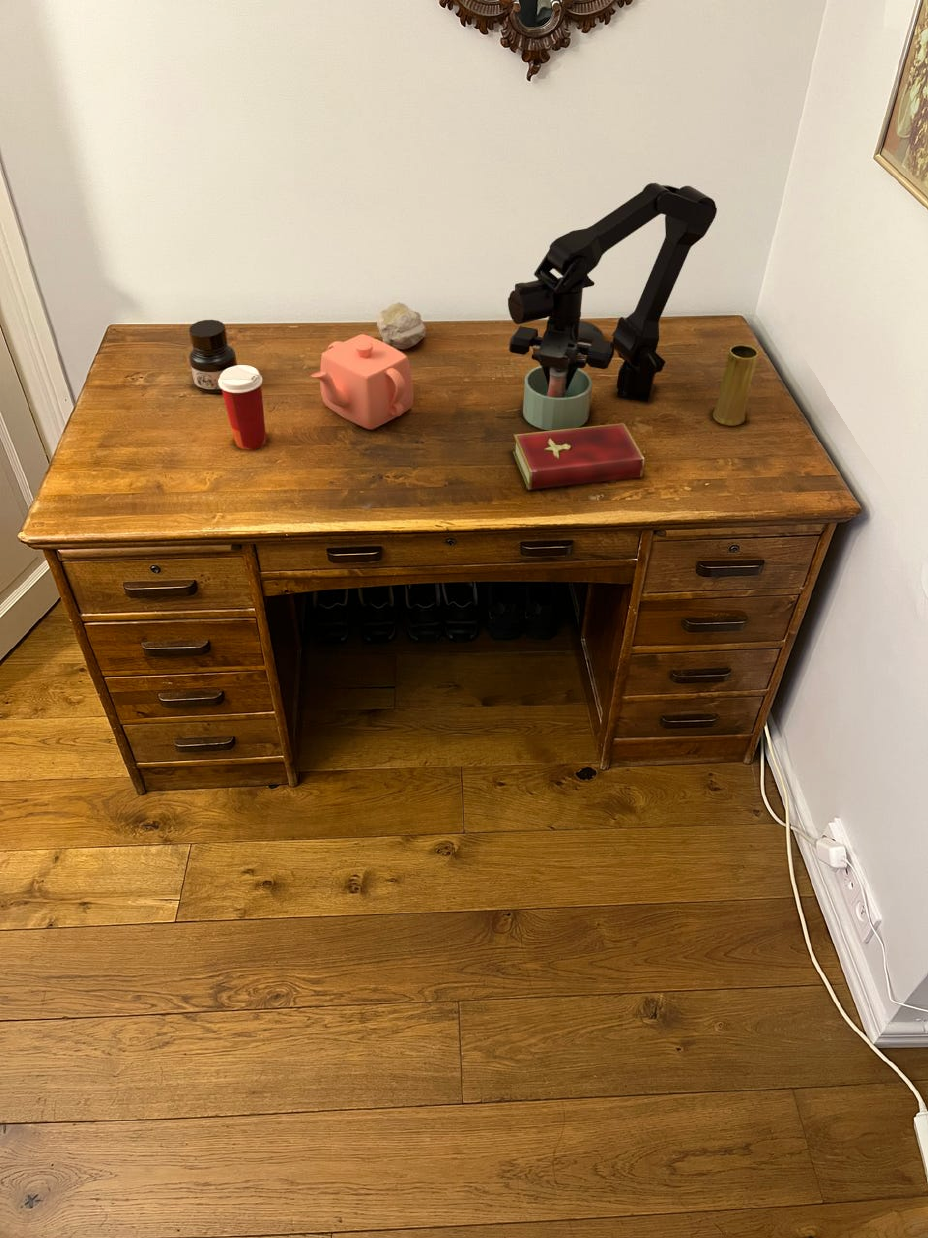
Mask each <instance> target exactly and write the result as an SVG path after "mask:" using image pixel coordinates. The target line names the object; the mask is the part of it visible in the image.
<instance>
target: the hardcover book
mask: <svg viewBox="0 0 928 1238" xmlns="http://www.w3.org/2000/svg"><path fill="white" fill-rule="evenodd" d="M513 438H514V441H515V450H513V451H512V454H513V456H514V459H515V462H516V463H517V466H518V468H519V471H520V473H521V476H522V479H523V481H524V483H525V486H526V488H527V490H528V491H532V490H540V489H548V488H549V489H550V488H557V487H566V486H575V485H584V484H591V483H602V482H609V481H619V480H627V479H634V478H636V479H637V478H642V477H643V474H644V470H645V463H646V460H645V457H644V455H643V453H642V451H641V450H640V448H639V447H638V445H637V443H636V441H635V439H634V438H633V436H632V434H631V432H630V431H629V429H628V427H627V425H626V424H625V422H621V423H620V422H619V423H611V424H610V423H609V424H601V425H594V426H593V425H591V426H580V427H578V428H572V429H563V430H553V431H548V430H544V431H536V432H527V433H526V432H525V433H518V434H513Z"/></svg>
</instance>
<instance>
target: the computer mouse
mask: <svg viewBox="0 0 928 1238" xmlns="http://www.w3.org/2000/svg"><path fill="white" fill-rule="evenodd" d="M594 339H598V340H603V341H605V337H604V333H603V331H602V330H601V329H600V328H599V327H598V326H597V325H595V324H594V323H592V322H588V321H584V320H580V325H579V338H578V343H579V342H582V343H588V344H592V342H593V340H594Z"/></svg>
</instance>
